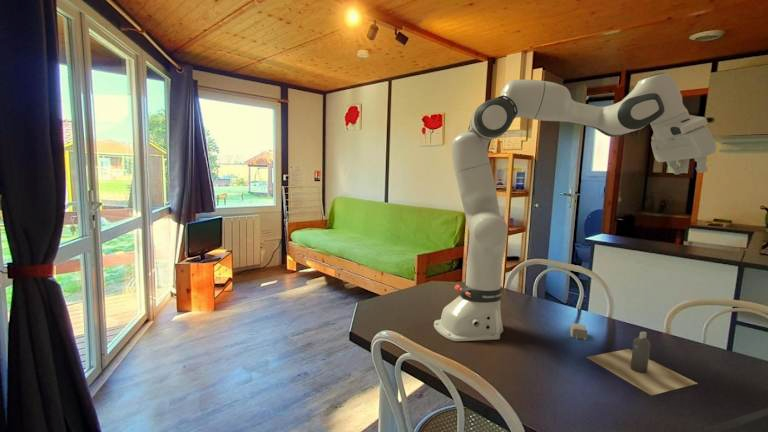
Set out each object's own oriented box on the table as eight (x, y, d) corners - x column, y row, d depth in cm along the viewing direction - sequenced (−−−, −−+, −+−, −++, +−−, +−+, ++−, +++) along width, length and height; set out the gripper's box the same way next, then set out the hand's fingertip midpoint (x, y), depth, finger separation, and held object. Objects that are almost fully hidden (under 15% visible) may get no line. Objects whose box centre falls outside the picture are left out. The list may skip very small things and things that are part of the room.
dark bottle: (640, 374, 95) (645, 336, 93) (627, 367, 98) (631, 330, 97) (650, 371, 96) (655, 334, 95) (637, 364, 99) (641, 328, 98)
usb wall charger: (584, 336, 118) (585, 324, 117) (588, 346, 111) (589, 334, 111) (569, 334, 119) (571, 322, 118) (573, 344, 112) (574, 331, 112)
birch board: (650, 399, 86) (651, 395, 86) (585, 360, 103) (586, 357, 103) (697, 387, 92) (697, 383, 91) (628, 352, 108) (628, 348, 108)
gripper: (640, 137, 117) (656, 178, 117) (686, 126, 97) (705, 175, 97) (660, 129, 116) (676, 170, 117) (711, 116, 96) (730, 166, 96)
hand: (690, 172), depth 107 cm, fingers open, 8 cm apart
